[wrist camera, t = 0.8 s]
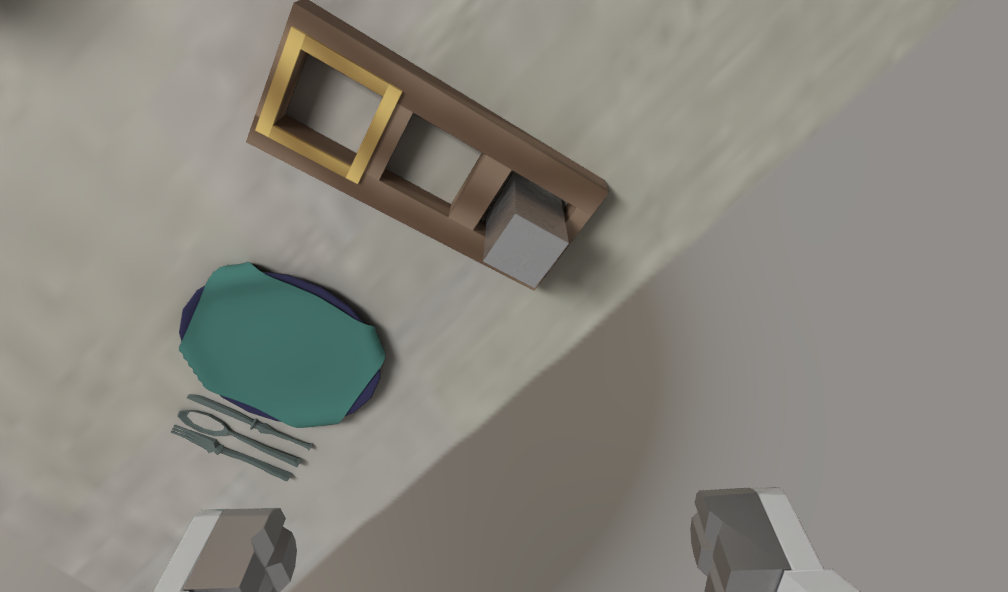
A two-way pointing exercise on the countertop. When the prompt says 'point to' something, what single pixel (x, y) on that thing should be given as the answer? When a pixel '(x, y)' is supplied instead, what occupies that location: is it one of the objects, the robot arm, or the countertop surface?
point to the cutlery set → (275, 356)
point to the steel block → (525, 231)
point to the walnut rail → (401, 98)
